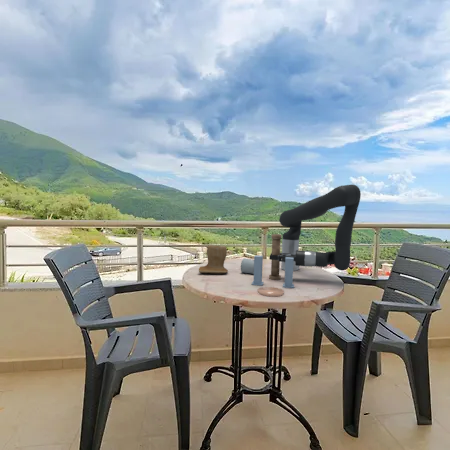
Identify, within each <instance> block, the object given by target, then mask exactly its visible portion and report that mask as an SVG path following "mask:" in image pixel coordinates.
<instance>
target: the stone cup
mask: <svg viewBox="0 0 450 450" xmlns="http://www.w3.org/2000/svg"><path fill="white" fill-rule="evenodd" d="M227 251H228V249H227V247H226V246H224V245H223V246H222V245H215V244H209V245H208V246H207V249H206V256H207V264H206V265H204V266H203V265H202V266H200V267H199V268H198V273H199V274H215V275H216V274H217V275H218V274H226V273H228V272H229V270H228V269H227V268H225V265H224V264H225V261H226V258H227V254H228V252H227Z"/></svg>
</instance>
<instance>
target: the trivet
mask: <svg viewBox="0 0 450 450" xmlns="http://www.w3.org/2000/svg"><path fill="white" fill-rule="evenodd" d="M256 292H258V293H259V294H258V293H257V294H258V295H261V296H263V297H271V298H273V297H274V298H275V297H277V298H278V297H282V296H284V295H285V290H284V289H282V288H278V287H274V286H273V287H272V286H261V287H259V288H257V291H256Z"/></svg>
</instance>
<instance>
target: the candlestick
mask: <svg viewBox="0 0 450 450" xmlns="http://www.w3.org/2000/svg"><path fill="white" fill-rule="evenodd" d="M271 240H272V241H271V253H272V255H277V256H278V255H280V253H281V241H282V234H280V233H279V234H278V233H273V234H271ZM270 261H271V263H270V264H271V267H270V268H271V269H270V274H269V275H268V278H269V280H271V281H281V280H282V277H281V276H282V275H280V262H281V261H280V262H279V261H278V260H270Z"/></svg>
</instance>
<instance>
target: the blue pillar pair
mask: <svg viewBox="0 0 450 450" xmlns="http://www.w3.org/2000/svg"><path fill="white" fill-rule="evenodd" d="M263 256H264V255H254V257H253V260H254V274H253V280H252V282H251V285H252V286H259V287H260V286H261V287H264V283H265V282H264V281H263V262H264V261H263V259H264V257H263ZM293 260H294V258H291V257H286V258H285V270H284V283H282V288H285V289H295V284H294V283H293V280H294V271H293Z"/></svg>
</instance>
